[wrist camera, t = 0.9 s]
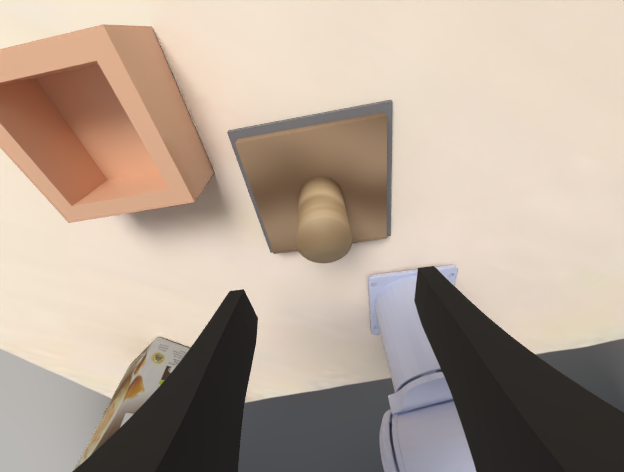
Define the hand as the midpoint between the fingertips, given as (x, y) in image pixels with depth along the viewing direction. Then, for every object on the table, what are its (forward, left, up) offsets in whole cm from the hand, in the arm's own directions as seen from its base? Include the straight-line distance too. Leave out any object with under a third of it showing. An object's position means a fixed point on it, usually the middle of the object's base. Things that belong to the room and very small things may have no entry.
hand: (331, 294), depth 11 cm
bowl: (+6, +11, -10) cm, 16 cm away
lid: (0, 0, -10) cm, 10 cm away
